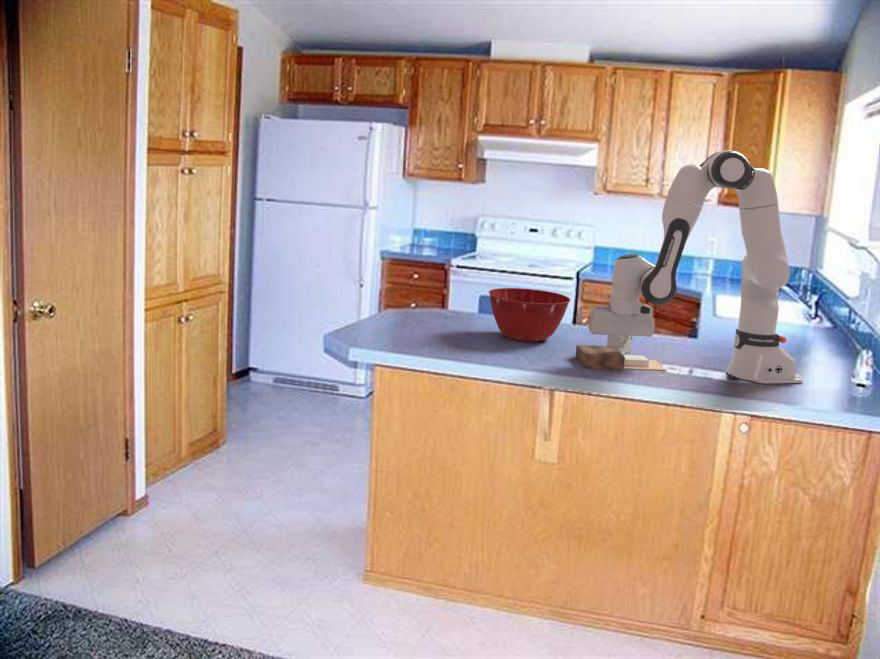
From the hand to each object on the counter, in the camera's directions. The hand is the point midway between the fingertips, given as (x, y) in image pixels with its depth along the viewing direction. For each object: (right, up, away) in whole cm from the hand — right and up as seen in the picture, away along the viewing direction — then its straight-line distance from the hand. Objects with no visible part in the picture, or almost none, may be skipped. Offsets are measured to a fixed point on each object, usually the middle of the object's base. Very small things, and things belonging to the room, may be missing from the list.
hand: (619, 349), depth 276 cm
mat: (+7, -5, +2) cm, 9 cm away
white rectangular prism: (+4, -5, +2) cm, 7 cm away
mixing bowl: (-27, +3, +30) cm, 40 cm away
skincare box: (+3, -2, +18) cm, 18 cm away
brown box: (-6, -5, +1) cm, 8 cm away
